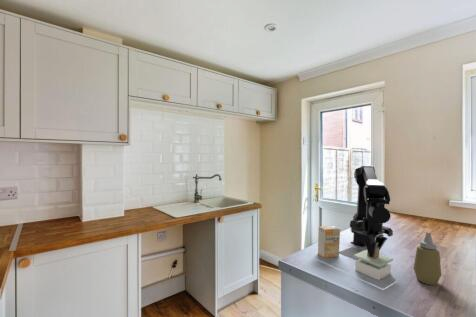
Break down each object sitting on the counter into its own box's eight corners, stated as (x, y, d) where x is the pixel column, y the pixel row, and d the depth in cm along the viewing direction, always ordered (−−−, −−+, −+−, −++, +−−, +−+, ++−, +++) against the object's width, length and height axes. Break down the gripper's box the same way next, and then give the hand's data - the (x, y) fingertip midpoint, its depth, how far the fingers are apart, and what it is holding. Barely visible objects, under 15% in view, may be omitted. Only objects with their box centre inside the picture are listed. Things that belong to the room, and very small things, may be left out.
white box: (367, 265, 100) (367, 255, 100) (390, 274, 92) (390, 264, 92) (355, 270, 95) (355, 261, 95) (379, 281, 87) (379, 270, 87)
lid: (366, 251, 101) (367, 240, 100) (392, 260, 92) (393, 248, 92) (353, 256, 95) (354, 244, 95) (380, 267, 87) (380, 254, 86)
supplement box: (323, 259, 105) (324, 229, 105) (317, 254, 110) (318, 226, 110) (339, 257, 107) (340, 228, 107) (332, 252, 112) (333, 225, 112)
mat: (352, 247, 119) (352, 246, 119) (379, 257, 108) (379, 256, 108) (336, 253, 111) (336, 252, 111) (364, 264, 101) (364, 263, 101)
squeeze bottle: (428, 275, 92) (429, 229, 92) (447, 287, 84) (449, 236, 84) (407, 275, 92) (409, 229, 92) (424, 287, 84) (426, 236, 84)
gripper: (366, 209, 105) (365, 244, 105) (341, 214, 95) (340, 253, 95) (394, 214, 96) (392, 253, 96) (370, 221, 85) (368, 264, 86)
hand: (373, 255), depth 94 cm, fingers closed on lid, 3 cm apart
